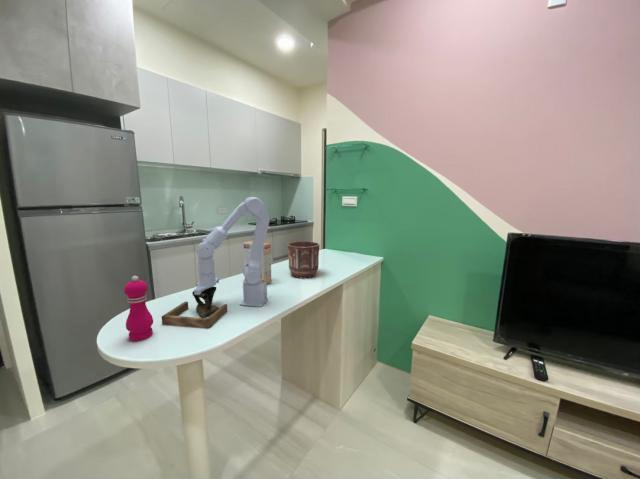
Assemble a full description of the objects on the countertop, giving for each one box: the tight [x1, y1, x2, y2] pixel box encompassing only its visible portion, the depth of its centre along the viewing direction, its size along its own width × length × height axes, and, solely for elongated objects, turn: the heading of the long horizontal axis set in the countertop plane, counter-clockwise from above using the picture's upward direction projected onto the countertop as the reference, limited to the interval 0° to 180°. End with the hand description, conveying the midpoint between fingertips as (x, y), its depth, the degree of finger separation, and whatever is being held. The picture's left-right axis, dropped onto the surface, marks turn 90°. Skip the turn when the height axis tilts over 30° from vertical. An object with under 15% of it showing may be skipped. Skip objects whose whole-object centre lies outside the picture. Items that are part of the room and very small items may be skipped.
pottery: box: [286, 241, 320, 279], centre depth 150 cm, size 18×18×18 cm
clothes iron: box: [191, 290, 220, 318], centre depth 102 cm, size 7×11×10 cm, turn 48°
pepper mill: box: [123, 275, 154, 342], centre depth 83 cm, size 7×7×20 cm
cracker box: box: [243, 240, 272, 285], centre depth 137 cm, size 14×6×21 cm, turn 58°
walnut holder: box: [161, 301, 228, 329], centre depth 97 cm, size 17×13×3 cm
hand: (208, 305), depth 106 cm, fingers closed, pressing on clothes iron
